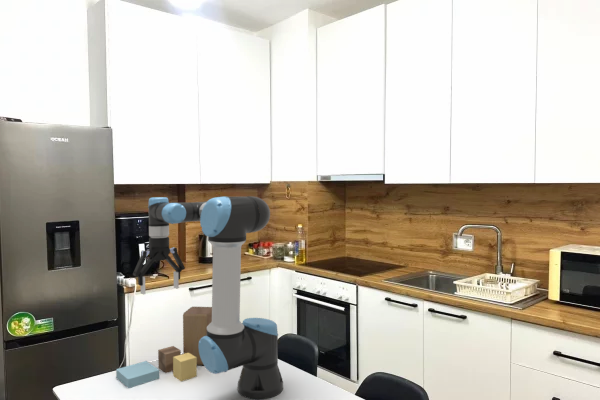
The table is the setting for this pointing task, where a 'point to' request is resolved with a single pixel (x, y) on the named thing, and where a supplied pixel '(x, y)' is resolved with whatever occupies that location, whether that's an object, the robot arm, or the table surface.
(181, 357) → the brick
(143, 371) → the base brick
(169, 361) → the brick
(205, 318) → the wooden block
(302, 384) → the table surface
